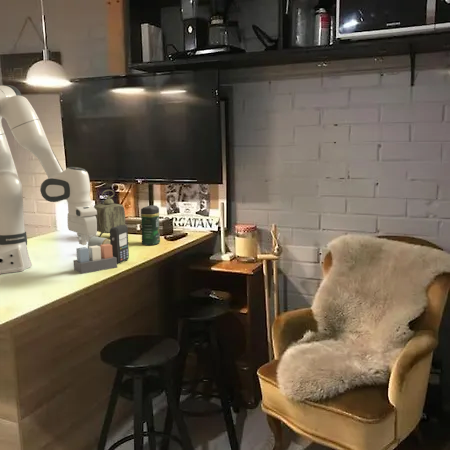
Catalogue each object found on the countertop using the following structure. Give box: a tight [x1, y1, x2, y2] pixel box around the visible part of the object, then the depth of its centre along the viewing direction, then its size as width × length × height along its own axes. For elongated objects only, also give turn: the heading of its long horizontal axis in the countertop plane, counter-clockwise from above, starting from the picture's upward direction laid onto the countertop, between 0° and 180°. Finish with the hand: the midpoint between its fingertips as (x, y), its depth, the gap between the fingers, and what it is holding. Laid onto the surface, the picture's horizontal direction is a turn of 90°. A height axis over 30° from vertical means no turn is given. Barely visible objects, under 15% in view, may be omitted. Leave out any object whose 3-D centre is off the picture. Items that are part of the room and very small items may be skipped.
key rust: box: [100, 244, 113, 259], centre depth 222 cm, size 4×4×6 cm
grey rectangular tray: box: [73, 257, 118, 275], centre depth 220 cm, size 15×8×4 cm, turn 127°
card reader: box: [109, 224, 130, 265], centre depth 230 cm, size 9×4×15 cm, turn 160°
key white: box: [89, 245, 101, 261], centre depth 219 cm, size 4×4×6 cm
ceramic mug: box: [87, 235, 110, 249], centre depth 248 cm, size 11×8×8 cm
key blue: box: [76, 246, 89, 263], centre depth 216 cm, size 4×4×6 cm
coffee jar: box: [140, 204, 161, 246], centre depth 265 cm, size 10×8×19 cm
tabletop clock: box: [93, 189, 126, 237], centre depth 279 cm, size 14×9×25 cm, turn 133°
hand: (82, 244), depth 215 cm, fingers closed
